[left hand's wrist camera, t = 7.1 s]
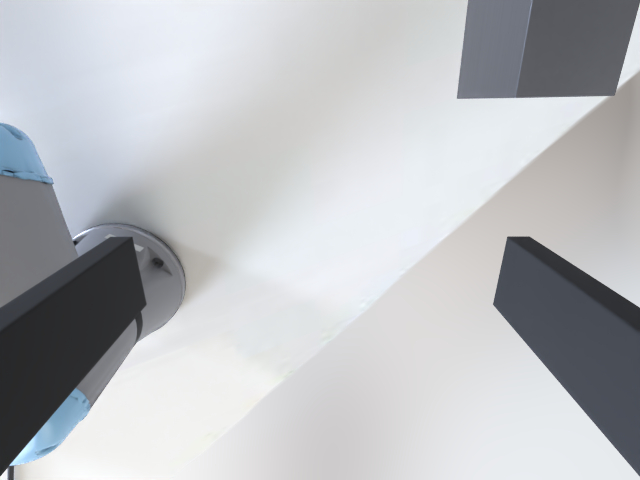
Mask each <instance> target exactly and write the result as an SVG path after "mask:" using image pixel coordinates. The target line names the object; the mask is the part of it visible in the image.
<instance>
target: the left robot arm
mask: <svg viewBox="0 0 640 480" xmlns="http://www.w3.org/2000/svg"><path fill="white" fill-rule="evenodd" d="M52 184H54V183H53V180H52V178H50V177H49V176H48V175H47V173H46V170H45V168H44V166H43V164H42V162H41V160H40V158H39V155H38V153H37V151H36V148H35V146H34V144H33V142H32V141H31V139H30V138H29V137H28V136H27V135H26V134H25V133H23V132H22V131H21V130H19V129H17V128H15V127H13V126H11V125H8V124H4V123H0V476H1V475H2V474H3V472H4V471H5V470H6V469H7V468H8V480H14V465H19V464H24V463H28V462H31V461H34V460H36V459H39V458H41V457H43V456H45V455H47V454H48V453H50V452H52V451H53V450H54V449H55V448H57V447H58V446H59V445H60V444H61V443H62V442H63V441H64V440H65V438H66V437H67V436H68V435H69V433H70V432H71V431H72V430H73V428H74V427H75V426H76V425H77V424H78V422H80V421H81V420H83V419H84V417H85V416H87V414H88V412H89V410H90V409H91V407H92V406H93V404H94V403H95V401H96V400H97V398H98V397H99V396H100V394H101V393H102V391H103V390H104V388H105V387H106V385H107V384H108V383H109V381H110V380H111V378H112V377H113V375H114V374H115V373H116V371H117V370H118V368H119V367H120V365H121V364H122V362H123V361H124V360H125V358H126V357H127V355H128V354H129V352H130V351H131V349H132V348H133V346H134V345H135V344H136V342H138V341H139V340H141V339H143V338H144V337H146V336H147V335H149V334H150V333H152V332H154V331H156V330H158V329H159V328H161V327H162V326H164V325H165V324H166V323H167V322H168V321H169V320H170V319H171V318H172V317H173V316H174V314H175V313H176V311H177V310H178V308H179V307H180V305H181V303H182V301H183V298H184V295H185V286H186V285H185V276H184V272H183V269H182V266H181V264H180V262H179V260H178V259H177V257H176V255H175V254H174V253H173V252H172V250H171V249H170V248H169V247H168V246H167V245H166V244H165V243H164V242H163V241H161V240H160V239H159V238H157V237H156V236H154V235H153V234H151V233H149V232H147V231H145V230H143V229H140V228H137V227H134V226H130V225H125V224H103V225H98V226H95V227H92V228H90V229H88V230H86V231H84V232H82V233H81V234H79V235H77V236H76V237H74V238H73V239H72V238H71V235H70V233H69V230H68V227H67V225H66V222H65V220H64V217H63V214H62V211H61V209H60V206H59V203H58V200H57V198H56V195H55V192H54V189H53V186H52ZM493 305H494V306H495V307H496V308H497V310H498V311H499V312H500V313H501V314H502V316H503V317H504V318H505V319H506V320H507V321H508V322H509V324H510V325H511V326H512V327H513V328H514V330H515V331H516V332H517V333H518V334H519V335H520V337H521V338H522V339H523V340H524V341H525V342H526V344H527V345H528V346H529V347H530V348H531V349H532V351H533V352H534V353H535V354H536V355H537V356H538V358H539V359H540V360H541V361H542V362H543V364H544V365H545V366H546V367H547V368H548V369H549V371H550V372H551V373H552V374H553V375H554V376H555V378H556V379H557V380H558V381H559V382H560V383H561V385H562V386H563V387H564V388H565V389H566V390H567V392H568V393H569V394H570V395H571V396H572V397H573V399H574V400H575V401H576V402H577V403H578V405H579V406H580V407H581V408H582V409H583V410H584V412H585V413H586V414H587V415H588V416H589V417H590V419H591V420H592V421H593V422H594V423H595V424H596V426H597V427H598V428H599V429H600V430H601V431H602V433H603V434H604V435H605V436H606V437H607V438H608V440H609V441H610V442H611V443H612V444H613V445H614V447H615V448H616V449H617V450H618V451H619V453H620V454H621V455H622V456H623V457H624V458H625V460H626V461H627V462H628V463H629V464H630V465H631V467H632V468H633V469H634V470H635V471H636V472H637V474H638V475H639V476H640V308H639V307H638V306H636V305H635V304H633V303H632V302H630V301H628V300H627V299H625V298H624V297H622V296H621V295H619V294H618V293H616V292H614V291H613V290H611V289H610V288H608V287H607V286H605V285H604V284H602V283H601V282H599V281H597V280H596V279H594V278H593V277H591V276H590V275H588V274H587V273H585V272H583V271H582V270H580V269H579V268H577V267H576V266H574V265H573V264H571V263H569V262H568V261H566V260H565V259H563V258H562V257H560V256H559V255H557V254H556V253H554V252H552V251H551V250H549V249H548V248H546V247H545V246H543V245H542V244H540V243H538V242H537V241H535V240H534V239H532V238H531V237H507V241H506V246H505V251H504V256H503V261H502V265H501V270H500V275H499V279H498V284H497V289H496V294H495V298H494V303H493Z"/></svg>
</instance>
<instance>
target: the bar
mask: <svg viewBox="0 0 640 480" xmlns="http://www.w3.org/2000/svg"><path fill="white" fill-rule="evenodd" d="M639 4H640V0H468V7H467V16H466V25H465V33H464V42H463V50H462V59H461V68H460V76H459V85H458V93H457V99H473V98H531V97H578V96H614V95H615V92H616V89H617V85H618V81H619V78H620V74H621V70H622V67H623V63H624V59H625V55H626V52H627V48H628V44H629V41H630V37H631V33H632V29H633V26H634V22H635V18H636V15H637V11H638V7H639Z"/></svg>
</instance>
